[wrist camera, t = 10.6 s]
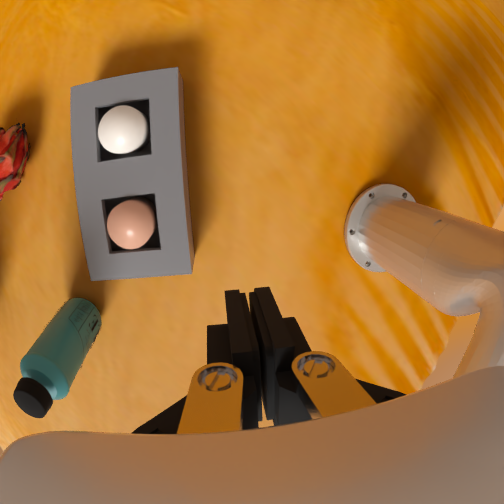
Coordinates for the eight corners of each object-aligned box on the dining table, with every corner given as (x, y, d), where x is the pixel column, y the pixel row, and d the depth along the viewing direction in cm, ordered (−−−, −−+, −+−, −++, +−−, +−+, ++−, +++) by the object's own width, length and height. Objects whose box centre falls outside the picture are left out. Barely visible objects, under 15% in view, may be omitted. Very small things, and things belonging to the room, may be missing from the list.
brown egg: (156, 194, 33) (149, 199, 29) (161, 237, 35) (155, 247, 31) (115, 199, 33) (104, 204, 29) (121, 240, 34) (111, 251, 30)
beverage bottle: (60, 296, 38) (-10, 381, 19) (95, 286, 38) (30, 378, 19) (78, 334, 40) (25, 428, 21) (114, 326, 40) (68, 428, 21)
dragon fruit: (-4, 191, 33) (43, 129, 33) (4, 226, 30) (56, 157, 31) (-43, 169, 25) (6, 99, 25) (-43, 205, 22) (11, 124, 23)
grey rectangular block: (183, 80, 32) (177, 67, 26) (194, 256, 39) (191, 273, 33) (90, 95, 31) (70, 87, 25) (106, 263, 37) (91, 281, 32)
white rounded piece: (150, 107, 30) (143, 101, 26) (152, 150, 32) (145, 150, 28) (109, 114, 30) (97, 110, 26) (111, 156, 31) (99, 156, 27)
